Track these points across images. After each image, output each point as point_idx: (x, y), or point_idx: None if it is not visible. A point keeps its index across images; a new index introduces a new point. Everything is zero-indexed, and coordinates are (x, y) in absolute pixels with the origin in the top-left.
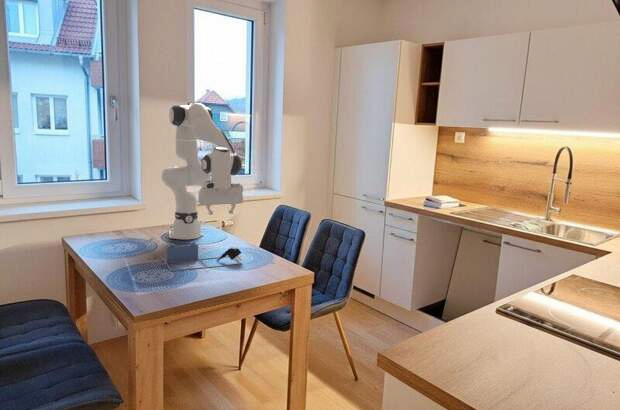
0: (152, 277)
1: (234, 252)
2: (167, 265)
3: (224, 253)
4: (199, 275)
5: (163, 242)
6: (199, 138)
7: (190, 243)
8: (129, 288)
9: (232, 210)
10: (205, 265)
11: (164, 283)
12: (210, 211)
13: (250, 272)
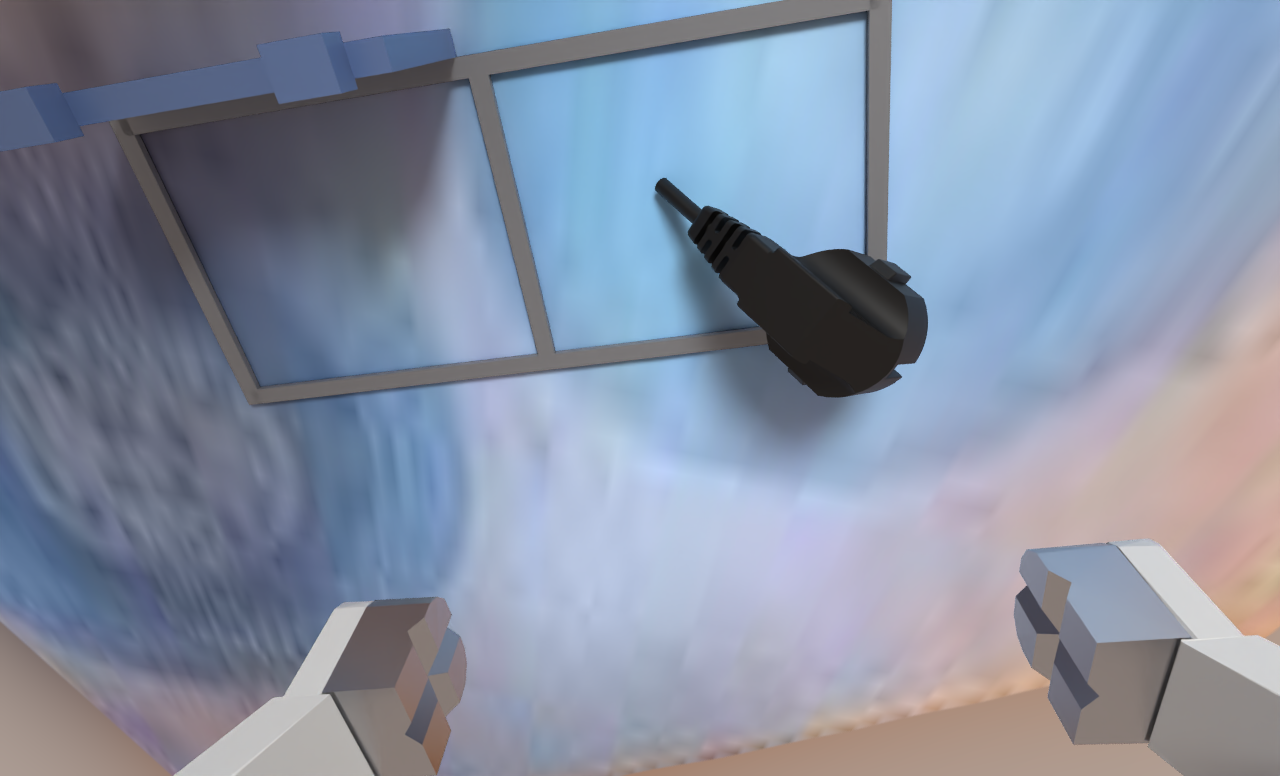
0: (157, 493)
1: (827, 395)
2: (177, 248)
3: (733, 289)
4: (482, 519)
5: None
6: None
7: (268, 53)
8: (95, 629)
9: (1164, 726)
10: (532, 318)
11: (271, 602)
12: (368, 762)
13: (867, 534)
